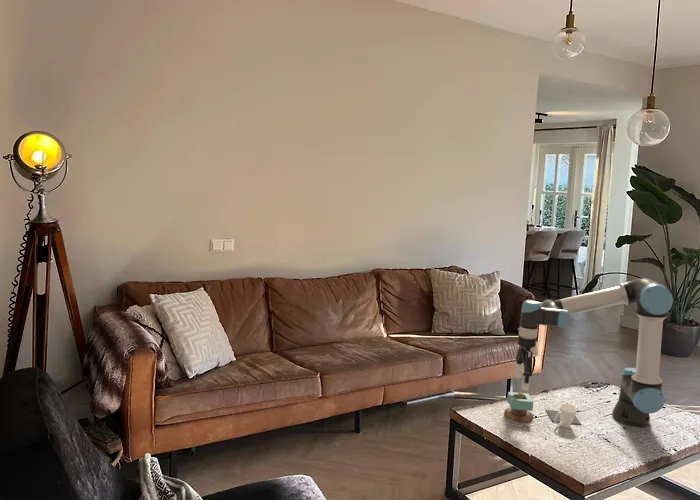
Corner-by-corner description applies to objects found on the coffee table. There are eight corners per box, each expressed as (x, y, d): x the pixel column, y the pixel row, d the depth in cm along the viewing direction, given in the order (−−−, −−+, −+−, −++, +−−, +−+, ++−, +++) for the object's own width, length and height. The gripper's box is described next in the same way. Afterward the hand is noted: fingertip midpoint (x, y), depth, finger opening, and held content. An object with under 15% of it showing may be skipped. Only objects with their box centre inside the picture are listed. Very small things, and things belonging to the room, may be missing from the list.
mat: (572, 413, 264) (572, 412, 264) (581, 424, 252) (581, 423, 252) (545, 410, 265) (545, 409, 264) (552, 422, 253) (552, 421, 253)
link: (527, 402, 260) (528, 393, 259) (532, 410, 251) (533, 401, 250) (507, 400, 260) (508, 391, 260) (511, 408, 252) (512, 400, 251)
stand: (529, 411, 262) (531, 389, 260) (535, 423, 250) (538, 400, 249) (501, 409, 263) (504, 387, 261) (507, 421, 251) (509, 397, 249)
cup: (577, 427, 249) (580, 410, 247) (559, 431, 245) (562, 415, 243) (565, 418, 255) (568, 402, 253) (547, 422, 251) (550, 406, 249)
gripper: (512, 327, 263) (507, 372, 267) (525, 344, 239) (518, 394, 242) (529, 329, 263) (523, 374, 266) (543, 346, 238) (537, 396, 242)
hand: (521, 383), depth 254 cm, fingers open, 13 cm apart
